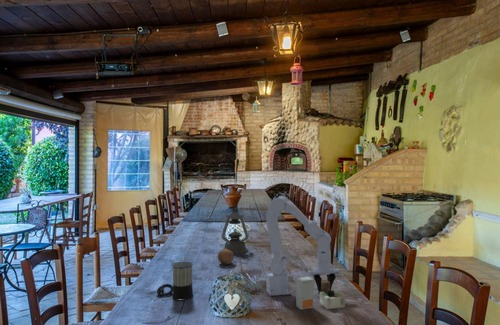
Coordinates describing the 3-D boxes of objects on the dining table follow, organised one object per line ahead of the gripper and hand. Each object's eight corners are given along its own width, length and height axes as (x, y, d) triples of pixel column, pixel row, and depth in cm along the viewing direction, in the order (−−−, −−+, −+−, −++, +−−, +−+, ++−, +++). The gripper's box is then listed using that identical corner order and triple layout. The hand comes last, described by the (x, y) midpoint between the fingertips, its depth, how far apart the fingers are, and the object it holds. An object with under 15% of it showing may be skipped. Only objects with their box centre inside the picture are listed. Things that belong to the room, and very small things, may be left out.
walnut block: (321, 296, 168) (321, 283, 168) (318, 293, 172) (318, 280, 172) (330, 296, 169) (330, 282, 169) (326, 292, 173) (326, 279, 173)
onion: (225, 267, 227) (225, 250, 232) (237, 265, 222) (237, 248, 226) (214, 264, 221) (214, 247, 225) (226, 262, 215) (226, 245, 220)
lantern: (243, 245, 269) (243, 203, 269) (252, 252, 250) (252, 206, 250) (218, 247, 264) (218, 204, 263) (226, 254, 244) (225, 208, 244)
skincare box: (301, 310, 156) (301, 281, 156) (296, 306, 160) (295, 278, 160) (314, 307, 158) (313, 279, 158) (308, 304, 162) (308, 276, 162)
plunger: (321, 296, 168) (321, 286, 168) (329, 295, 169) (329, 286, 169) (327, 302, 162) (327, 292, 161) (335, 301, 162) (335, 291, 162)
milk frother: (194, 299, 169) (194, 266, 168) (157, 303, 164) (157, 269, 164) (190, 288, 182) (190, 257, 182) (156, 292, 178) (156, 260, 178)
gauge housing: (319, 301, 165) (319, 291, 165) (337, 300, 166) (336, 290, 166) (326, 308, 157) (326, 298, 157) (344, 307, 159) (344, 296, 158)
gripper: (311, 264, 165) (311, 295, 165) (343, 262, 167) (343, 292, 168) (306, 259, 172) (306, 289, 172) (336, 257, 174) (336, 287, 175)
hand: (324, 290), depth 170 cm, fingers closed on walnut block, 4 cm apart
